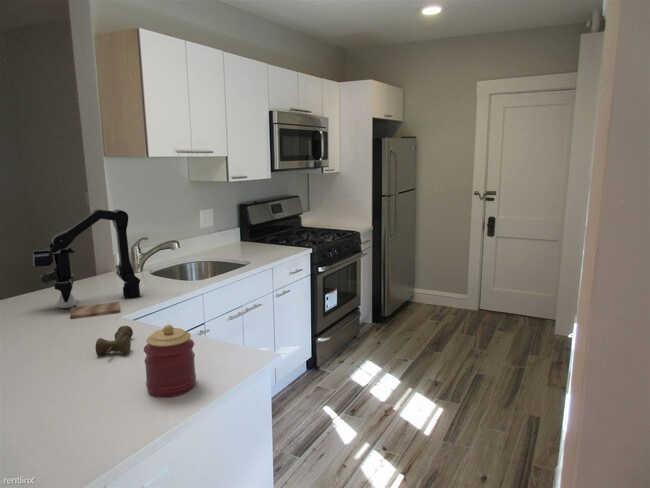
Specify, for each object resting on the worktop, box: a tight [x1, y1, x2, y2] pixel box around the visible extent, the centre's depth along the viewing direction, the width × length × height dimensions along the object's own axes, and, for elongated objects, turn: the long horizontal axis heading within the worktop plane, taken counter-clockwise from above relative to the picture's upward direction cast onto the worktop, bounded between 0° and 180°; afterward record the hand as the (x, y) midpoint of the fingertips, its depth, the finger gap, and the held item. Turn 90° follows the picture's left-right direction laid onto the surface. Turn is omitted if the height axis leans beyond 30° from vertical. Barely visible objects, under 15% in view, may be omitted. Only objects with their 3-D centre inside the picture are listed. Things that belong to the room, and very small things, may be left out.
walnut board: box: [69, 301, 121, 320], centre depth 191 cm, size 18×12×1 cm, turn 116°
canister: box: [143, 324, 197, 398], centre depth 126 cm, size 13×13×18 cm
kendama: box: [95, 325, 134, 357], centre depth 152 cm, size 6×10×20 cm
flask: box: [56, 292, 78, 309], centre depth 196 cm, size 7×7×10 cm
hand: (66, 300), depth 197 cm, fingers closed on flask, 5 cm apart
